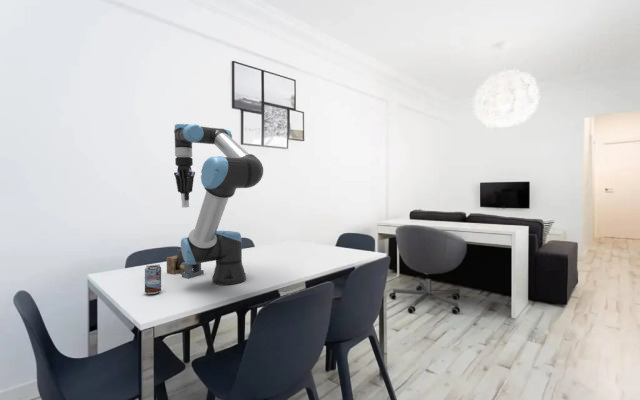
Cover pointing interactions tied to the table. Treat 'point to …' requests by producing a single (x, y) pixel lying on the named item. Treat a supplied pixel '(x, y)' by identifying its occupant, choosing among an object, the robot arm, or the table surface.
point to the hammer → (180, 260)
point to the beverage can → (152, 279)
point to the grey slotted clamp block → (192, 270)
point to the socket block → (173, 265)
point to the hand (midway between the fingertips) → (185, 207)
